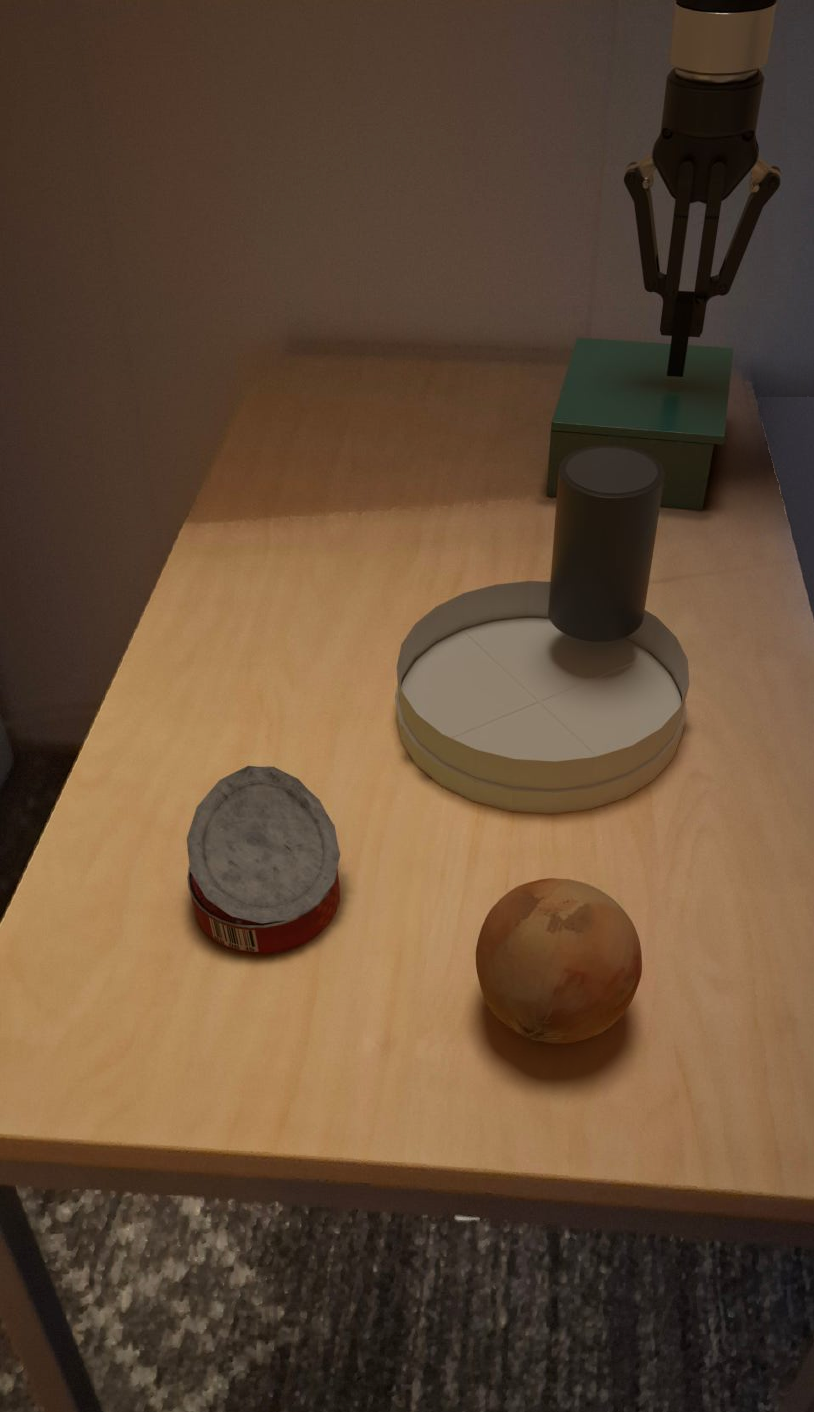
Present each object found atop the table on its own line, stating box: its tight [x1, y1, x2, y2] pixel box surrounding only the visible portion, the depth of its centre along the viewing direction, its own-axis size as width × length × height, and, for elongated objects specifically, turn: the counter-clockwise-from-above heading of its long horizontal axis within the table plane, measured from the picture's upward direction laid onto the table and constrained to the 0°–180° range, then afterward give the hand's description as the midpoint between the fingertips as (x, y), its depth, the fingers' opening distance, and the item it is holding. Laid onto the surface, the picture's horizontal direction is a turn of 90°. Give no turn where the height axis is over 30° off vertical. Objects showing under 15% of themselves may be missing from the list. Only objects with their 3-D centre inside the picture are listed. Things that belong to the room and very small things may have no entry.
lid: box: [550, 337, 734, 446], centre depth 110 cm, size 15×18×1 cm
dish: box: [394, 580, 690, 815], centre depth 89 cm, size 22×22×5 cm
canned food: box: [186, 765, 341, 955], centre depth 76 cm, size 11×10×10 cm
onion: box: [475, 877, 643, 1044], centre depth 68 cm, size 10×10×10 cm
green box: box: [545, 429, 715, 512], centre depth 113 cm, size 15×18×7 cm
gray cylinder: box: [548, 445, 665, 642], centre depth 86 cm, size 7×7×12 cm
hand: (675, 370), depth 108 cm, fingers closed
